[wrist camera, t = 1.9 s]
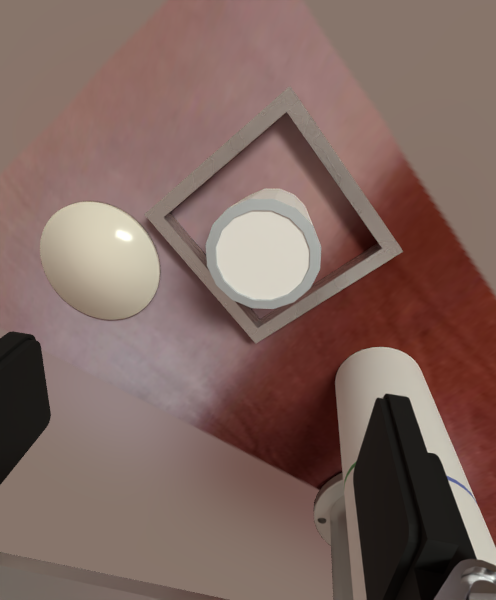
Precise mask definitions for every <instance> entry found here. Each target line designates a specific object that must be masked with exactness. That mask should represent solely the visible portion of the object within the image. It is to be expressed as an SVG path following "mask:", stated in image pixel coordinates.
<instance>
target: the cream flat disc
mask: <svg viewBox="0 0 496 600" xmlns="http://www.w3.org/2000/svg"><path fill="white" fill-rule="evenodd" d="M40 256H41V262H42V266H43V269H44V272H45V274H46V276H47V278H48V280H49V282H50V284H51V285H52V287H53V288H54V289H55V291H56V292H57V293H58V294H59V295H60V296H61V298H63V299H64V300H65V301H66V302H67V303H68V304H70V305H71V306H72V307H74V308H75V309H77V310H79V311H80V312H82V313H84V314H87V315H89V316H92V317H95V318H100V319H106V320H118V319H124V318H127V317H130V316H133V315H135V314H137V313H138V312H140V311H141V310H142V309H144V308H145V307H146V306H147V305H148V304H149V302H150V301H151V300H152V299H153V297H154V295H155V293H156V291H157V289H158V286H159V281H160V273H161V271H160V261H159V256H158V253H157V250H156V247H155V245H154V243H153V241H152V239H151V238H150V236H149V234H148V233H147V232H146V230H145V229H144V228H143V227H142V226H141V225H140V224H139V223H138V222H137V220H135V219H134V218H133V217H132V216H130V215H129V214H127V213H126V212H124V211H123V210H121V209H119V208H117V207H115V206H112V205H109V204H106V203H102V202H95V201H85V202H78V203H74V204H71V205H69V206H66V207H64V208H62V209H61V210H59V211H58V212H57V213H55V214H54V215H53V216H52V217H51V218H50V220H49V221H48V222H47V224H46V226H45V228H44V230H43V233H42V237H41V241H40Z"/></svg>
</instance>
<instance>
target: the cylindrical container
mask: <svg viewBox="0 0 496 600" xmlns="http://www.w3.org/2000/svg"><path fill="white" fill-rule="evenodd" d="M335 389H336V401H337V413H338V425H339V437H340V449H341V460H342V472H343V484H344V496H345V508H346V519H347V531H348V542H349V554H350V565H351V577H352V588H353V600H367V598H366V589H365V581H364V572H363V563H362V555H361V546H360V538H359V529H358V520H357V512H356V503H355V495H354V486H353V473H354V468H355V465H356V461H357V458H358V455H359V452H360V448H361V445H362V442H363V439H364V436H365V432H366V429H367V426H368V423H369V419H370V416H371V413H372V410H373V407H374V403H375V400H376V399H377V398H383V397H384V395H385V394H386V393H387V394H393V395H399V396H406V397H408V398H409V399H410V402H411V404H412V407H413V410H414V413H415V416H416V419H417V422H418V425H419V428H420V431H421V434H422V437H423V440H424V443H425V446H426V449H427V452H428V453H434V454H436V455H437V456H438V457H439V458H440V460H441V462H442V465H443V468H444V470H445V473H446V476H447V479H448V481H449V484H450V487H451V490H452V492H453V495H454V498H455V500H456V503H457V506H458V509H459V511H460V514H461V517H462V519H463V522H464V525H465V528H466V530H467V533H468V536H469V538H470V541H471V544H472V547H473V549H474V552H475V555H476V558H477V559H478V560H483V561H486V562H488V563H491V564H494V565H495V566H496V547H495V545H494V543H493V540H492V538H491V536H490V533H489V531H488V528H487V526H486V524H485V521H484V519H483V517H482V514H481V512H480V509H479V507H478V505H477V502H476V500H475V498H474V495H473V493H472V490H471V488H470V486H469V483H468V481H467V478H466V476H465V474H464V471H463V469H462V467H461V464H460V462H459V459H458V457H457V455H456V452H455V450H454V448H453V445H452V443H451V440H450V438H449V436H448V433H447V431H446V429H445V426H444V424H443V421H442V419H441V417H440V414H439V412H438V410H437V407H436V405H435V402H434V400H433V398H432V395H431V393H430V391H429V388H428V386H427V383H426V381H425V379H424V376H423V374H422V371H421V369H420V368H419V366H418V364H417V363H416V362H415V361H414V360H413V358H411V357H410V356H409V355H407V354H405V353H403V352H401V351H399V350H396V349H393V348H387V347H373V348H368V349H364V350H361V351H359V352H356V353H354V354H353V355H351V356H350V357H348V358H347V359H346V360H345V361H344V362H343V363H342V365H341V366H340V368H339V369H338V372H337V374H336V379H335Z"/></svg>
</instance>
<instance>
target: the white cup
mask: <svg viewBox="0 0 496 600" xmlns="http://www.w3.org/2000/svg"><path fill="white" fill-rule="evenodd" d="M206 258H207V267H208V269H209V271H210V273H211V275H212V277H213V279H214V281H215V283H216V285H217V286H218V287H219V288H220V289H221V290H222V291H223V292H224V293H225V294H226V295H227V296H229V297H230V298H231V299H232V300H234V301H236V302H239V303H241V304H243V305H246V306H248V307H251V308H262V309H275V308H278V307H281V306H284V305H287V304H290V303H293V302H295V301H296V300H297V299H298V298H299V297H301V296H302V295H303V294H304V293H305V292H307V291H308V290H309V289H310V288H311V286H312V284H313V282H314V280H315V278H316V276H317V274H318V272H319V270H320V260H321V245H320V243H319V240H318V237H317V235H316V232H315V229H314V227H313V224H312V222H311V219H310V217H309V214H308V212H307V209H306V207H305V205H304V204H303V203H302V202H301V201H300V200H299V199H298V198H297V197H296V196H295V195H294V194H292V193H289V192H287V191H284V190H282V189H263V190H260V191H258V192H256V193H253V194H251V195H249V196H247V197H246V198H244V199H242V200H241V201H239V202H237V203H236V204H234V205H232V206H231V207H229V208H228V209H227V210H226V211H225V212H224V213H223V214H222V215H221V216H220V217H219V218H218V219H217V220H216V221H215V223H214V224H213V225H212V228H211V231H210V234H209V237H208V239H207V242H206Z"/></svg>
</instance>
